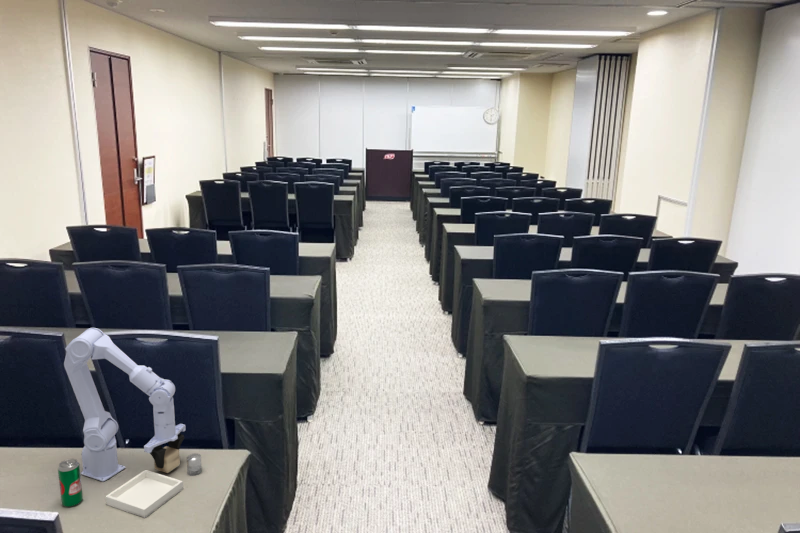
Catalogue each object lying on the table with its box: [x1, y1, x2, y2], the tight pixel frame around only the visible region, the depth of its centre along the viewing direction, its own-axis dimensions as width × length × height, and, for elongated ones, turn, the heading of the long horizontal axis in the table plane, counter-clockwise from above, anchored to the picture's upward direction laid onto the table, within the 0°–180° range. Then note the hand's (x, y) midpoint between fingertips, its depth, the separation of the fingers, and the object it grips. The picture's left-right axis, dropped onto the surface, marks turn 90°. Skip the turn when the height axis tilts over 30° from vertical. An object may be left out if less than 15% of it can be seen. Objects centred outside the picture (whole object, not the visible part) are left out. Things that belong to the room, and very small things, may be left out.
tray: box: [104, 469, 184, 519], centre depth 157 cm, size 14×14×2 cm
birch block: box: [153, 445, 181, 474], centre depth 169 cm, size 5×5×5 cm
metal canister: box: [186, 453, 202, 477], centre depth 169 cm, size 4×4×5 cm
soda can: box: [57, 458, 84, 508], centre depth 152 cm, size 5×5×12 cm
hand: (167, 462), depth 169 cm, fingers closed on birch block, 5 cm apart
